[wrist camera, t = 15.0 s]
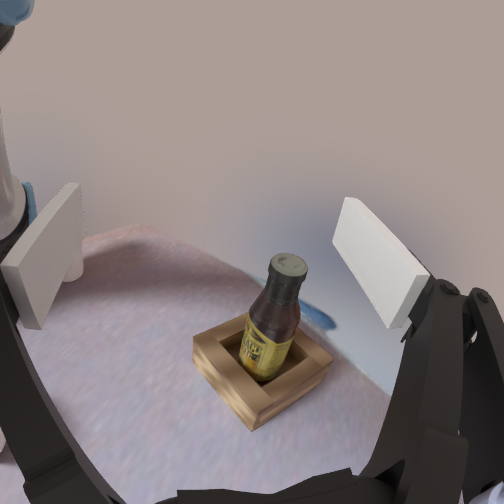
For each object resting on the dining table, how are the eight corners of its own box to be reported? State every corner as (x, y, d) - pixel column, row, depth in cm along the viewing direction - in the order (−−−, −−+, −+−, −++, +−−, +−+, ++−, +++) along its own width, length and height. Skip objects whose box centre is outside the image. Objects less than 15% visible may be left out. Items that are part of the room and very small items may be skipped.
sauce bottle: (232, 356, 45) (250, 244, 34) (271, 351, 47) (301, 243, 36) (243, 392, 40) (269, 281, 29) (285, 385, 41) (326, 277, 31)
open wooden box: (192, 362, 44) (193, 336, 41) (262, 328, 52) (269, 302, 49) (251, 431, 35) (258, 412, 32) (321, 381, 44) (334, 358, 40)
